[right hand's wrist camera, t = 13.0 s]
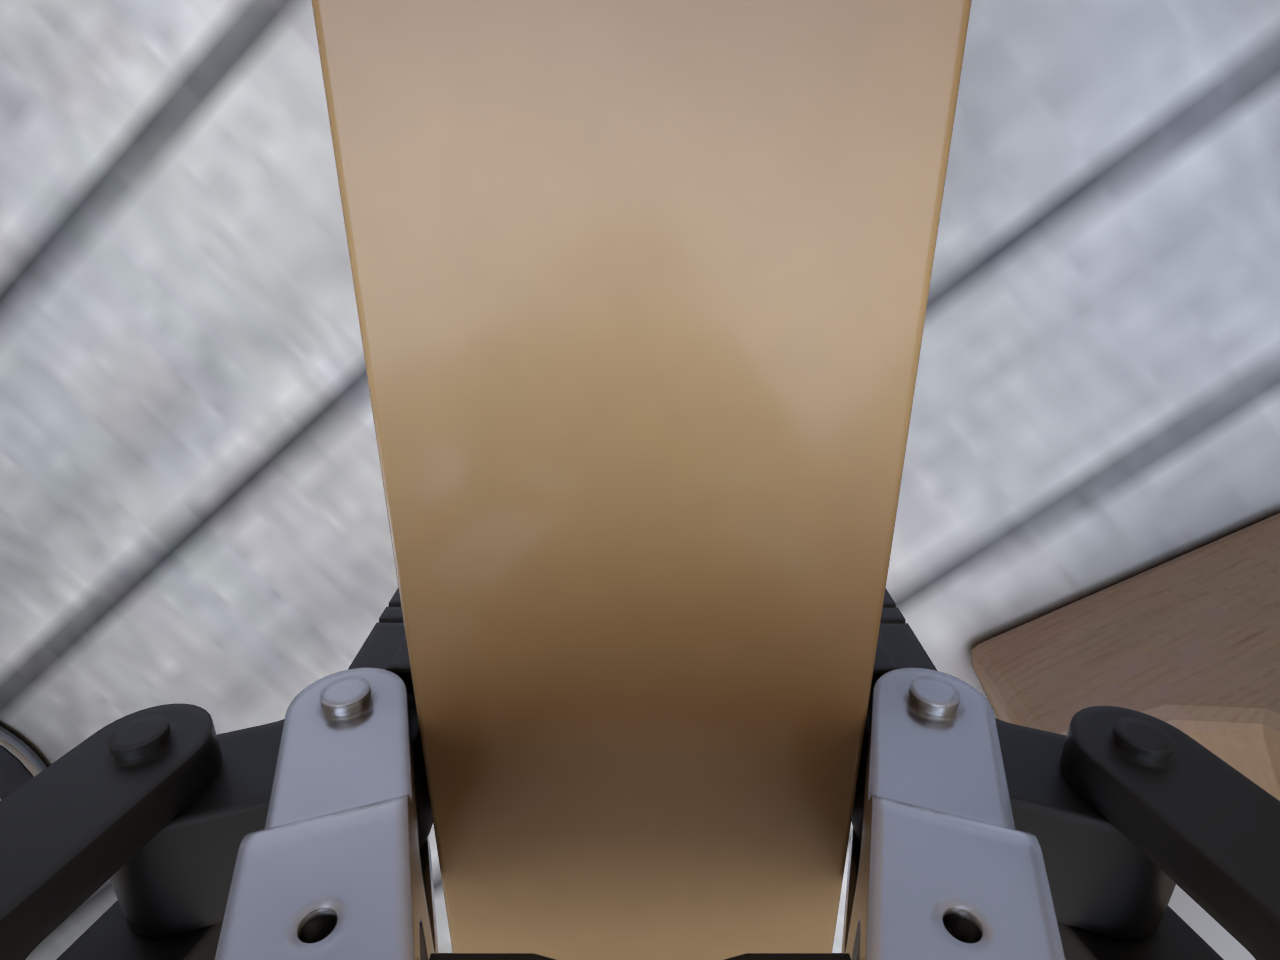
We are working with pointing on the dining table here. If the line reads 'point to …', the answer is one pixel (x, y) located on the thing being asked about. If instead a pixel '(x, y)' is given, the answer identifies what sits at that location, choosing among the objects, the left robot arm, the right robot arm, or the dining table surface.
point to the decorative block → (1161, 653)
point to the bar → (641, 434)
